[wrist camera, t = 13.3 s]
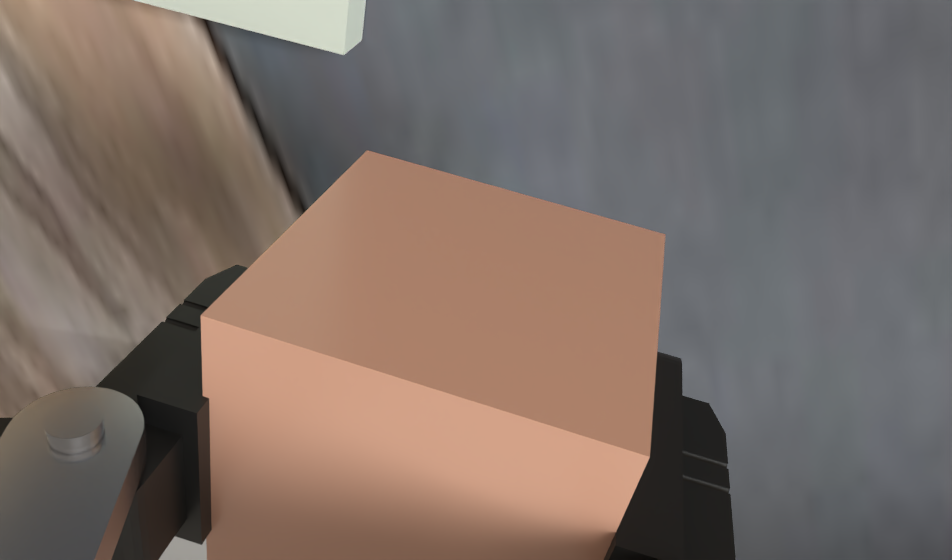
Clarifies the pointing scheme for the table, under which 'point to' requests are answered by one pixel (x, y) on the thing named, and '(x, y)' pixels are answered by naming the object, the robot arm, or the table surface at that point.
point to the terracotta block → (432, 376)
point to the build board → (284, 19)
